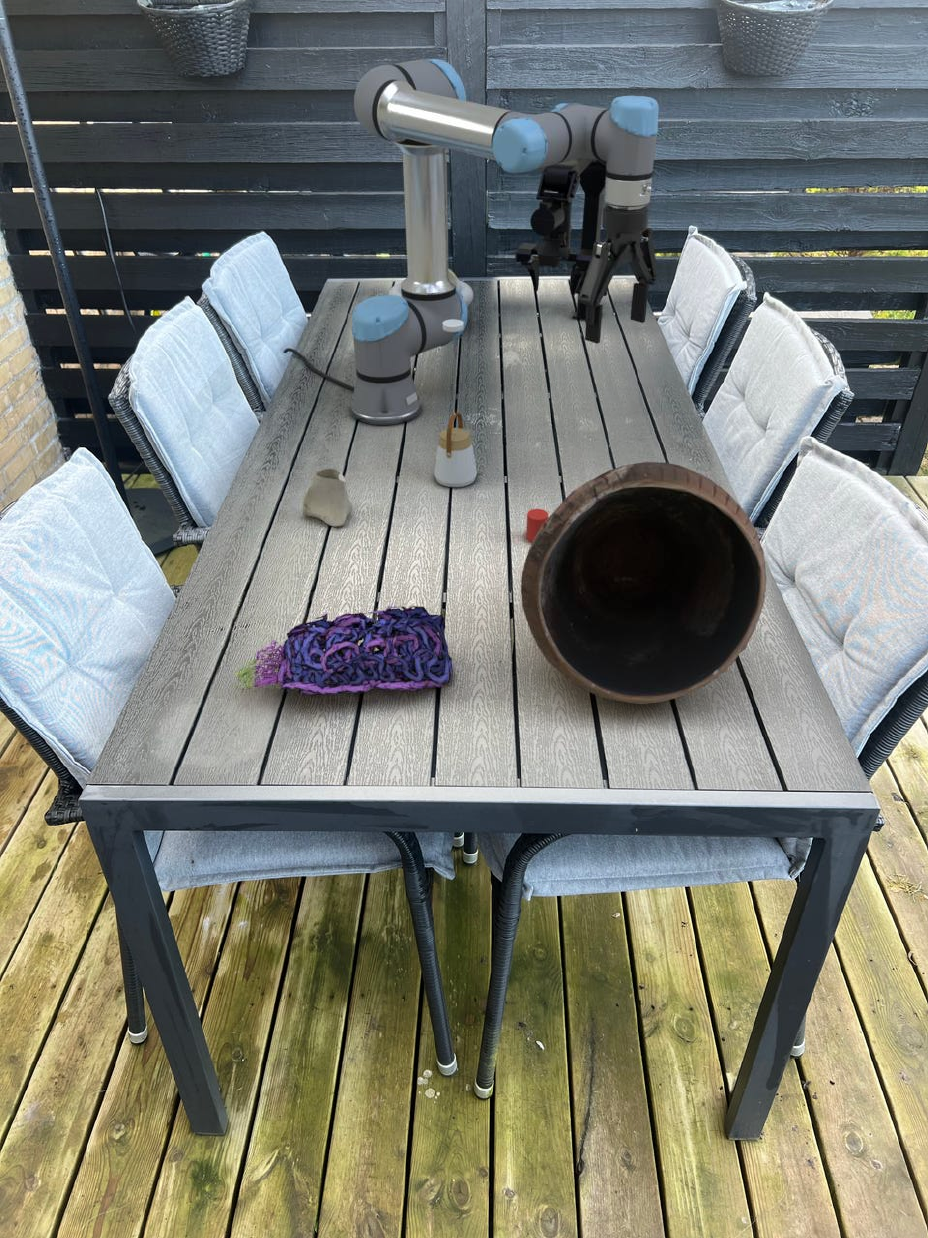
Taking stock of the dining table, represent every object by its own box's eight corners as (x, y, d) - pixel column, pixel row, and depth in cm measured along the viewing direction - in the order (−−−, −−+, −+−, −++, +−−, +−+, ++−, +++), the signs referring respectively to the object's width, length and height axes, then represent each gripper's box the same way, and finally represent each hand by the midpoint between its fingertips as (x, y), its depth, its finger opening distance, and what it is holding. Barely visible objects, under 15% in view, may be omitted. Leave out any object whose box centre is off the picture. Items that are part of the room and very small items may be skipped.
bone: (352, 523, 169) (358, 468, 167) (345, 530, 162) (351, 474, 159) (303, 516, 169) (308, 461, 167) (294, 523, 162) (299, 466, 159)
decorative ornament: (458, 672, 122) (225, 684, 119) (455, 713, 130) (238, 725, 128) (450, 592, 130) (231, 602, 127) (447, 636, 138) (243, 646, 135)
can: (546, 543, 160) (547, 520, 157) (525, 542, 160) (526, 518, 157) (547, 532, 163) (548, 509, 160) (526, 531, 163) (527, 507, 160)
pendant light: (468, 490, 174) (467, 333, 156) (427, 483, 176) (422, 328, 158) (482, 470, 180) (483, 317, 162) (443, 464, 183) (439, 312, 164)
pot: (560, 415, 140) (605, 423, 111) (739, 502, 146) (827, 531, 117) (469, 606, 146) (490, 660, 117) (644, 682, 152) (706, 752, 123)
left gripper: (599, 223, 144) (589, 355, 157) (687, 193, 158) (672, 317, 171) (561, 215, 148) (555, 344, 161) (650, 186, 162) (638, 308, 175)
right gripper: (507, 229, 208) (506, 299, 218) (588, 237, 203) (584, 308, 212) (523, 216, 216) (521, 284, 226) (601, 223, 211) (596, 292, 220)
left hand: (615, 330), depth 166 cm, fingers open, 13 cm apart
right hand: (555, 292), depth 221 cm, fingers open, 9 cm apart
